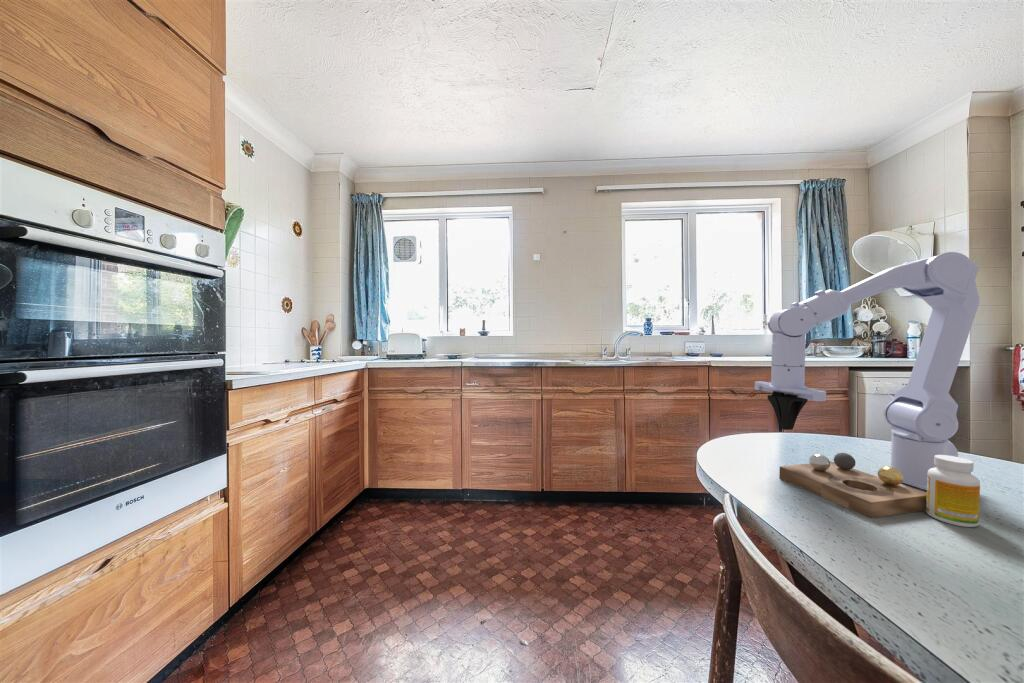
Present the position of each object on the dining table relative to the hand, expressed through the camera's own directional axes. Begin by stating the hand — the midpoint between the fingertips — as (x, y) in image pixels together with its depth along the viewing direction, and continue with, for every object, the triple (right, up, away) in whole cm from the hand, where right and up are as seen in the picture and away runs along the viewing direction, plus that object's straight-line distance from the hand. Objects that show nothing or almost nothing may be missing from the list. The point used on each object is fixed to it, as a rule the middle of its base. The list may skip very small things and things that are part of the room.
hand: (786, 428), depth 79 cm
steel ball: (+2, -5, -7) cm, 8 cm away
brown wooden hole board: (+4, -9, -11) cm, 15 cm away
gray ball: (+7, -5, -6) cm, 10 cm away
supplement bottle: (+11, -10, -20) cm, 25 cm away
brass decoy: (+9, -5, -13) cm, 17 cm away
